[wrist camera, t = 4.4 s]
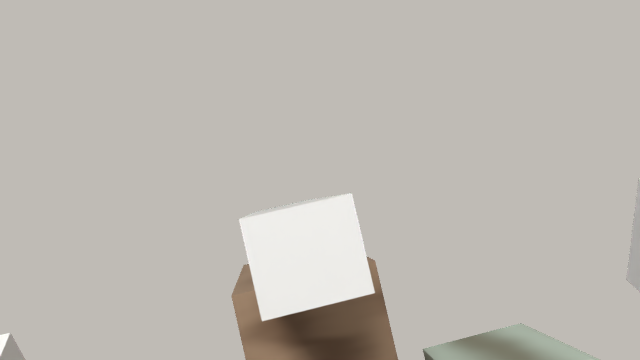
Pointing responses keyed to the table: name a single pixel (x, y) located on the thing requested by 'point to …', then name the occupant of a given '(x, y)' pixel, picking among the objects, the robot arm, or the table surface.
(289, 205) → the white block
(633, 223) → the robot arm
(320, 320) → the wooden boards
